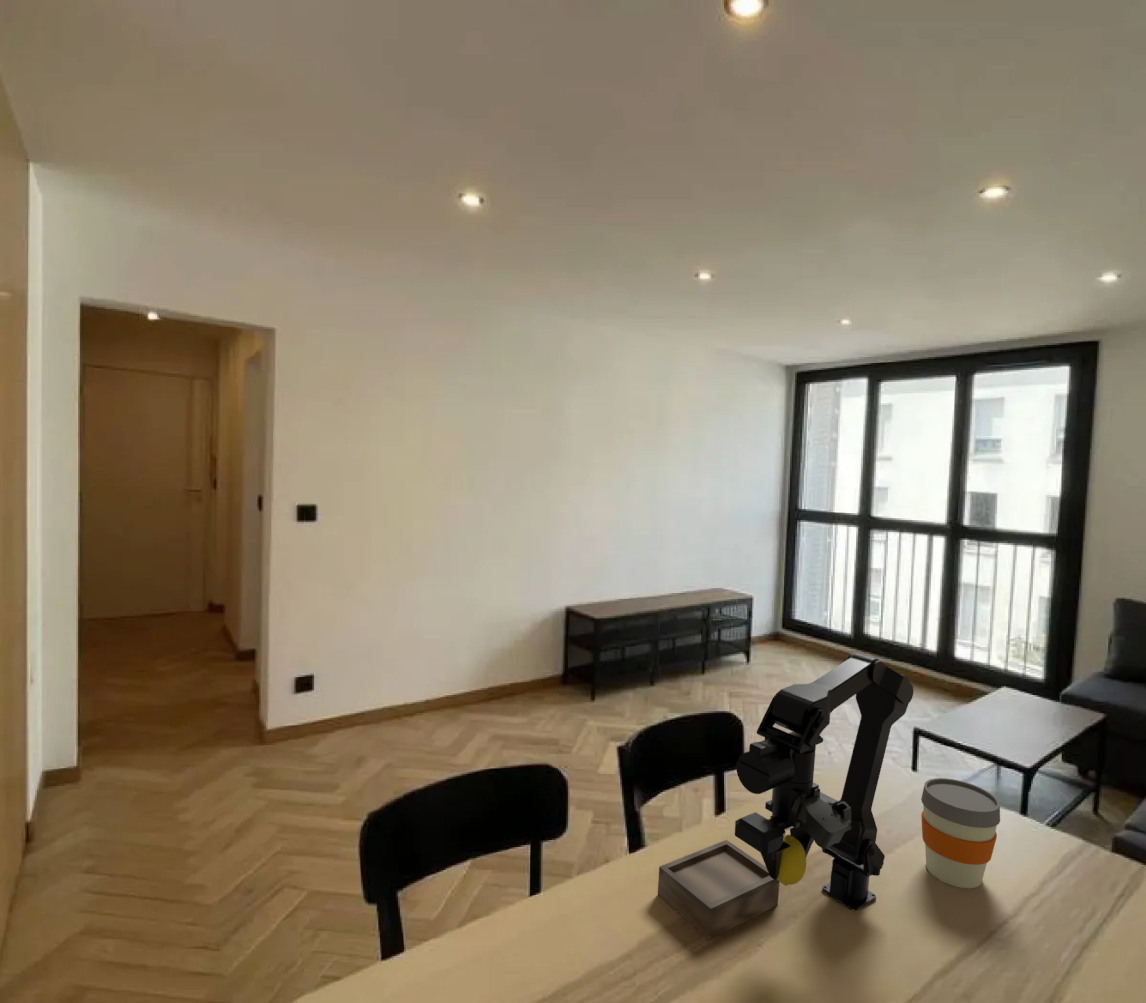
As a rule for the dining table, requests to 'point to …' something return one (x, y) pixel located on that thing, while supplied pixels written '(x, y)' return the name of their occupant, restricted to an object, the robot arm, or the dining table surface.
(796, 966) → the dining table surface
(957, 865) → the reusable coffee cup
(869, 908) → the dining table surface
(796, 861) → the lemon
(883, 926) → the dining table surface
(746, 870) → the wooden tray
